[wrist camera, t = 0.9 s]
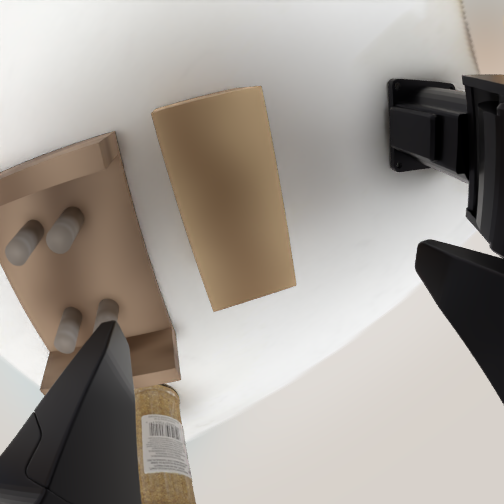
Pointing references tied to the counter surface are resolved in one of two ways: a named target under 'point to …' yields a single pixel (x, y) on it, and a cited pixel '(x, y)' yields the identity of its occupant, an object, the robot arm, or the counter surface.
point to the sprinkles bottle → (161, 448)
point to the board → (228, 193)
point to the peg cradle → (83, 258)
